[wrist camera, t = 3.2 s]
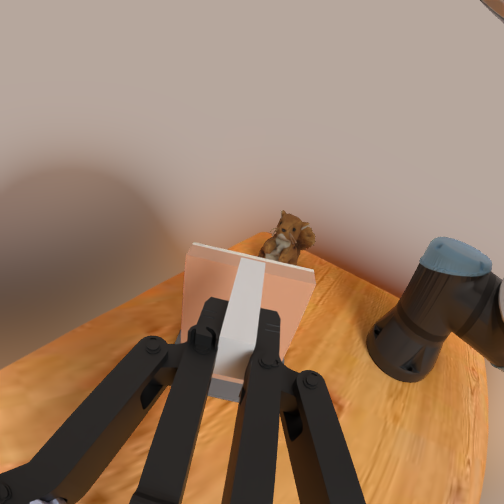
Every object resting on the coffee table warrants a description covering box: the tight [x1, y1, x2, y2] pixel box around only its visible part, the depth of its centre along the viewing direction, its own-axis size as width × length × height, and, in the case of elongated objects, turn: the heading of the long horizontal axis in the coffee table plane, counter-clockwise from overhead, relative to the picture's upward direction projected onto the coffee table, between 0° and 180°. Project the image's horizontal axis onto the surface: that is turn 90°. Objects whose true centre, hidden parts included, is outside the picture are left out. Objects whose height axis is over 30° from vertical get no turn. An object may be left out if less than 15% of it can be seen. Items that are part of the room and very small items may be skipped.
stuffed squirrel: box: [258, 210, 315, 266], centre depth 59 cm, size 10×14×13 cm
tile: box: [181, 242, 316, 384], centre depth 30 cm, size 2×12×18 cm, turn 84°
